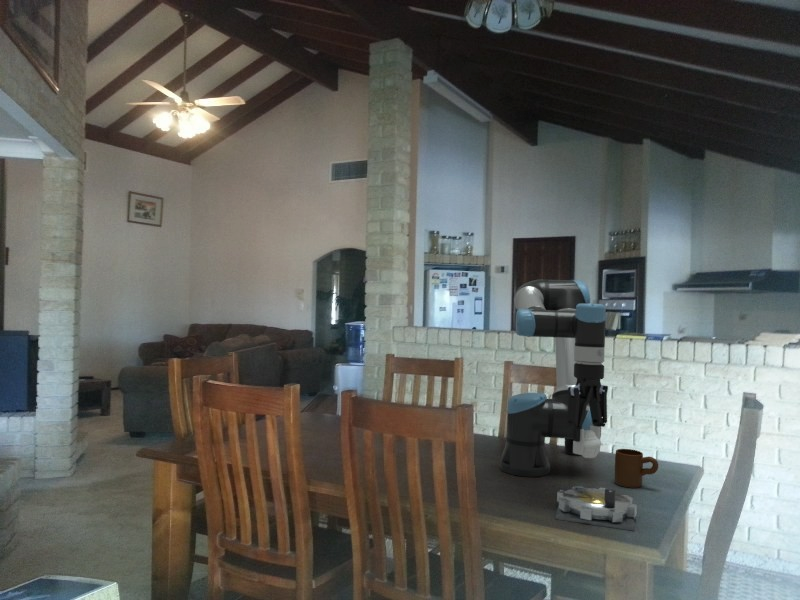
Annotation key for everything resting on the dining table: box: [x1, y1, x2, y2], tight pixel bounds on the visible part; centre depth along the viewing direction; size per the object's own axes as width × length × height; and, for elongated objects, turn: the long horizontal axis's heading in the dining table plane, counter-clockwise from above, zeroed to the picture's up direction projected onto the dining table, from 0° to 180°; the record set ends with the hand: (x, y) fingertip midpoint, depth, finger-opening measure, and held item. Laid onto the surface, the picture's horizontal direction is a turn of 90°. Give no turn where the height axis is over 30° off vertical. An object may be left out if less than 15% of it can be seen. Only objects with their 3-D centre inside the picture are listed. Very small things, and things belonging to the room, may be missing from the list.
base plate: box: [554, 502, 636, 532], centre depth 154 cm, size 18×18×1 cm
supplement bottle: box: [563, 438, 581, 457], centre depth 210 cm, size 7×7×12 cm
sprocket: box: [556, 485, 638, 522], centre depth 154 cm, size 19×19×6 cm
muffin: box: [582, 430, 602, 459], centre depth 158 cm, size 6×6×7 cm
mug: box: [614, 448, 659, 489], centre depth 176 cm, size 12×8×9 cm, turn 50°
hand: (586, 452), depth 159 cm, fingers closed on muffin, 6 cm apart
